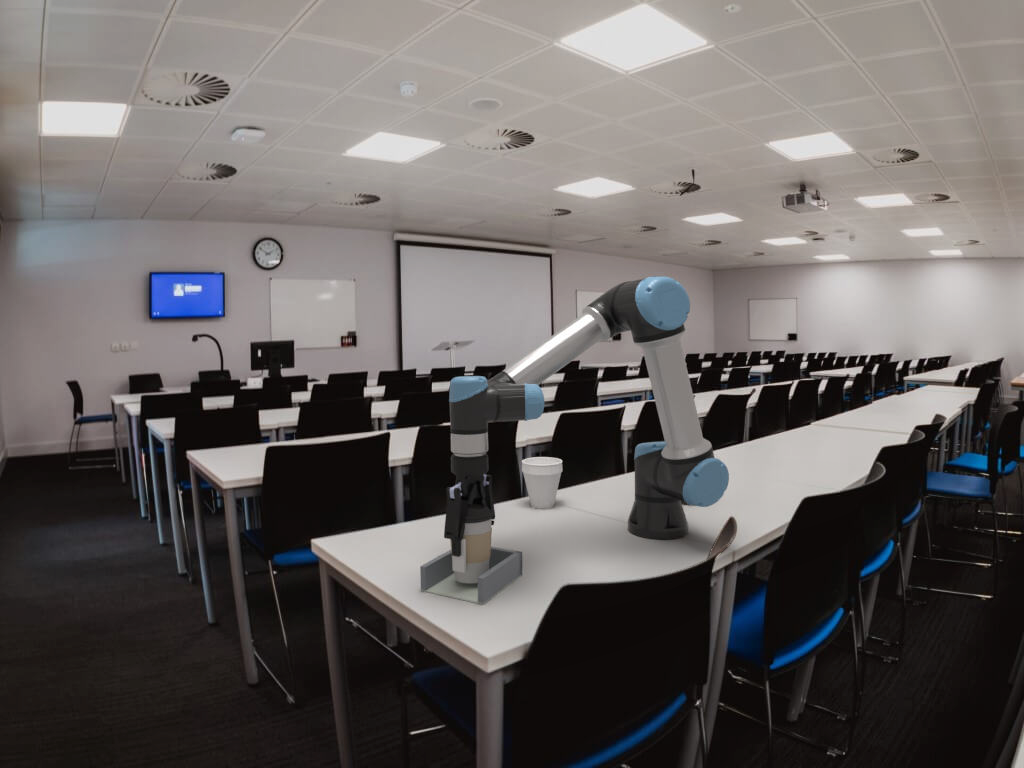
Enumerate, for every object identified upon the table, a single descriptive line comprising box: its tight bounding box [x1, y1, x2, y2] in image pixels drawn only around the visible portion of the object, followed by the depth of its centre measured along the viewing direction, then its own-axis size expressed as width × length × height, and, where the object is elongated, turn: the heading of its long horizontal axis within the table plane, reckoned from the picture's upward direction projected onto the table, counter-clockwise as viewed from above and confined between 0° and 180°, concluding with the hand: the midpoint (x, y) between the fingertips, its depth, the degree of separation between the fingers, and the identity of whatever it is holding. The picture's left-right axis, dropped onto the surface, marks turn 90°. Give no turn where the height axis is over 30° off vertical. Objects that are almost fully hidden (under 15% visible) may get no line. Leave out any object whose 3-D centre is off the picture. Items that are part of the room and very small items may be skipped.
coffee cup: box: [449, 503, 493, 583], centre depth 123 cm, size 9×9×15 cm
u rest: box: [419, 546, 523, 605], centre depth 124 cm, size 14×16×5 cm
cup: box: [521, 456, 563, 510], centre depth 182 cm, size 12×12×14 cm
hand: (471, 563), depth 124 cm, fingers closed on coffee cup, 8 cm apart
